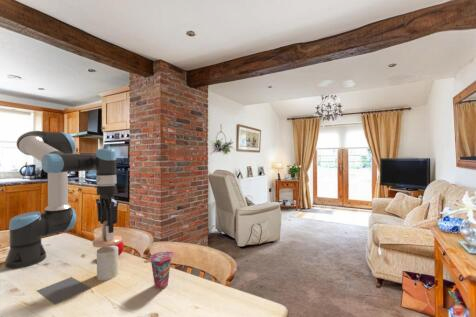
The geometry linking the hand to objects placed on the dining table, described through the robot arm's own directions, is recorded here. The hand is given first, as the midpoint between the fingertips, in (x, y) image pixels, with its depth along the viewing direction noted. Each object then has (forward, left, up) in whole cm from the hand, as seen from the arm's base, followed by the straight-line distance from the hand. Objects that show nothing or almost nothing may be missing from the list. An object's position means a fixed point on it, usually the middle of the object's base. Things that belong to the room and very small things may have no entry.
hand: (107, 239), depth 103 cm
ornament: (-17, +13, -17) cm, 27 cm away
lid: (0, 0, -1) cm, 1 cm away
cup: (+25, +8, -17) cm, 31 cm away
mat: (-4, -15, -16) cm, 23 cm away
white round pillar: (0, 0, -17) cm, 17 cm away
